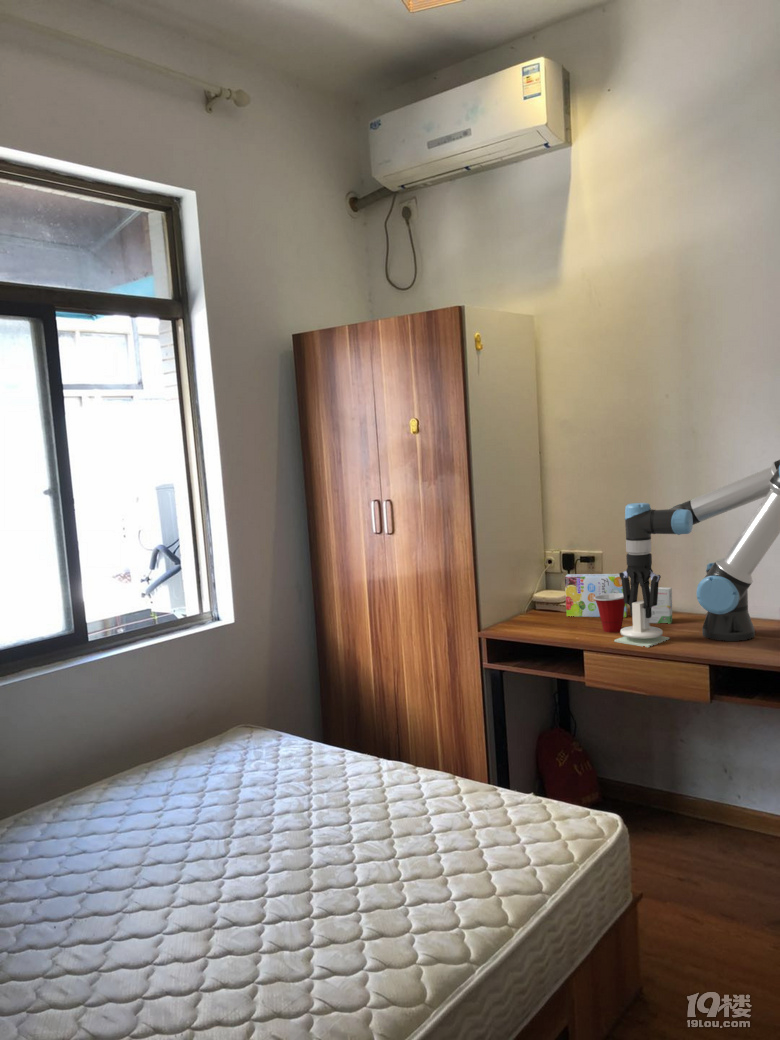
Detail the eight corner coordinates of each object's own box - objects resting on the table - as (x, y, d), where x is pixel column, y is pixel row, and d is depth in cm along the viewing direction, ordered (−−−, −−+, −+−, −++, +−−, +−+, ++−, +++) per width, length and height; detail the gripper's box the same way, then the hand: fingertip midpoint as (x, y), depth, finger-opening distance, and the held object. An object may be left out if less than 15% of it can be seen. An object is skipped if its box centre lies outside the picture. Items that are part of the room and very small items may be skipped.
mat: (669, 639, 255) (669, 637, 255) (648, 647, 247) (648, 645, 247) (635, 634, 264) (635, 632, 264) (614, 641, 256) (614, 639, 256)
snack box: (628, 614, 293) (626, 573, 291) (626, 618, 287) (625, 575, 286) (568, 613, 300) (566, 573, 299) (565, 617, 295) (564, 575, 294)
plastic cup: (600, 625, 278) (598, 591, 277) (632, 627, 272) (631, 592, 271) (590, 633, 269) (589, 597, 268) (623, 635, 263) (622, 598, 262)
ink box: (644, 623, 278) (643, 589, 277) (647, 619, 283) (646, 586, 282) (671, 624, 274) (669, 589, 273) (673, 620, 279) (672, 586, 278)
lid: (670, 632, 255) (669, 600, 254) (648, 640, 246) (647, 607, 245) (634, 627, 264) (633, 596, 263) (612, 634, 256) (611, 603, 255)
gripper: (668, 552, 249) (670, 628, 251) (623, 549, 261) (625, 621, 263) (655, 556, 244) (657, 633, 247) (609, 552, 256) (612, 626, 259)
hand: (641, 627), depth 255 cm, fingers closed on lid, 3 cm apart
